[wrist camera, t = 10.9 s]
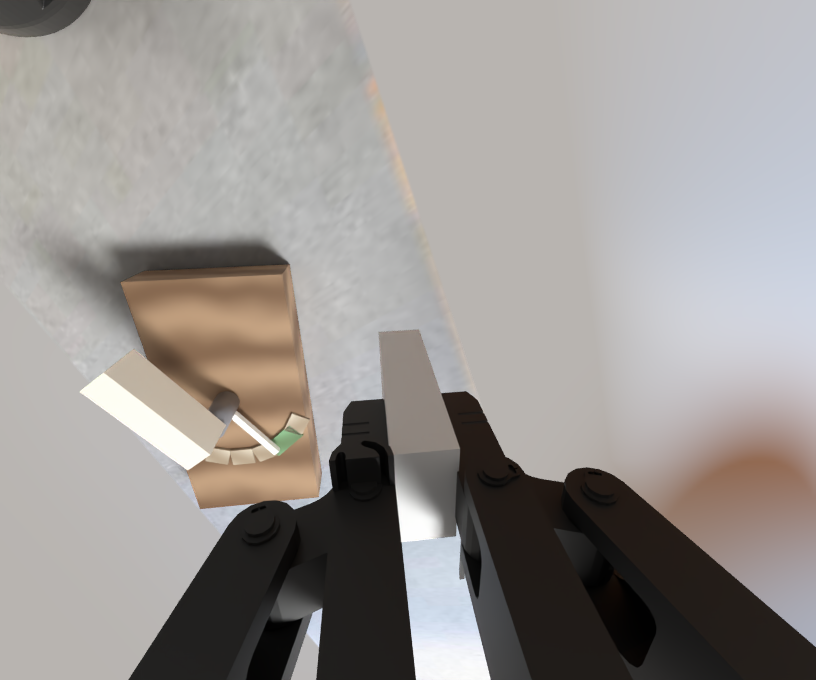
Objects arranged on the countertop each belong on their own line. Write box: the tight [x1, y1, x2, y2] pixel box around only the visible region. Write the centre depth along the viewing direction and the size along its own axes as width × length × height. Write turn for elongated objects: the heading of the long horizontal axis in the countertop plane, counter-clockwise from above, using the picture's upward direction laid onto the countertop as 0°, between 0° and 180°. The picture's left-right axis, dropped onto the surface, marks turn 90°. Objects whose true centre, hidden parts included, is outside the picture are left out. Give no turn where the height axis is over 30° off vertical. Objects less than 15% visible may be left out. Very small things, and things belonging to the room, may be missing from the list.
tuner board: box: [120, 264, 322, 509], centre depth 42 cm, size 28×14×4 cm, turn 1°
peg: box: [80, 349, 280, 470], centre depth 35 cm, size 17×3×9 cm, turn 35°
